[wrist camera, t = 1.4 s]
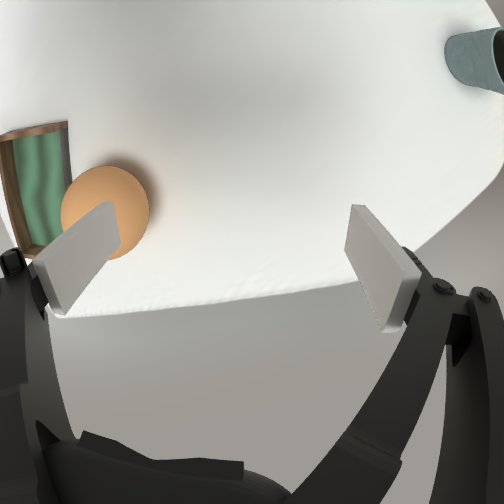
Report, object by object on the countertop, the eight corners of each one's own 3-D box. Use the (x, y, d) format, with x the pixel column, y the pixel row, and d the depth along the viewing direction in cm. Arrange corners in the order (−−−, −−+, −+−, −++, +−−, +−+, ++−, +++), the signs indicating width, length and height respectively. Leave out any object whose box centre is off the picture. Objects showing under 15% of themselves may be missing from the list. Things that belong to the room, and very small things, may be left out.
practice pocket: (67, 121, 33) (-40, 168, 15) (85, 254, 47) (25, 340, 28) (9, 131, 33) (-79, 177, 14) (31, 246, 46) (-28, 315, 28)
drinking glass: (433, 65, 27) (485, 68, 17) (447, 18, 22) (496, 11, 12) (476, 100, 29) (526, 114, 18) (489, 55, 23) (538, 60, 13)
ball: (78, 197, 40) (33, 236, 29) (115, 138, 35) (64, 163, 24) (132, 245, 45) (100, 295, 34) (177, 193, 40) (147, 237, 29)
